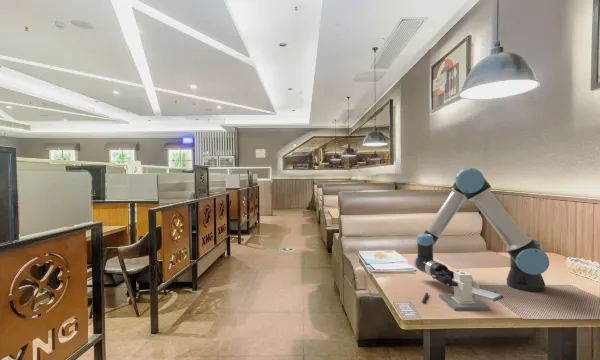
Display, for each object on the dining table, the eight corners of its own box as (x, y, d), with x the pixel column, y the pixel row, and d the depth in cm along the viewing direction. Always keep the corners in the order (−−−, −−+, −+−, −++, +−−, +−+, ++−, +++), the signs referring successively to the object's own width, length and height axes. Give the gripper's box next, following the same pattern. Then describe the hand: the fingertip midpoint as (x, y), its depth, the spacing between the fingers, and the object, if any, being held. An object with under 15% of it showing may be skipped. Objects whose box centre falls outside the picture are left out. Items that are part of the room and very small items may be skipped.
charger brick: (465, 296, 130) (464, 270, 130) (472, 301, 125) (471, 274, 125) (454, 297, 130) (453, 271, 130) (460, 301, 125) (459, 274, 125)
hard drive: (502, 294, 133) (473, 286, 144) (493, 298, 129) (464, 289, 139) (502, 298, 133) (473, 289, 144) (493, 302, 129) (464, 293, 139)
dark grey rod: (425, 294, 137) (425, 292, 137) (428, 295, 137) (428, 292, 137) (421, 303, 128) (421, 300, 128) (424, 303, 128) (424, 300, 128)
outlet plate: (470, 296, 134) (470, 293, 134) (489, 309, 120) (489, 305, 120) (439, 296, 135) (439, 293, 135) (454, 310, 121) (454, 306, 121)
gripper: (454, 276, 147) (492, 294, 124) (419, 279, 144) (450, 297, 121) (454, 261, 147) (491, 276, 124) (418, 263, 144) (450, 279, 121)
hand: (471, 286), depth 122 cm, fingers open, 6 cm apart
